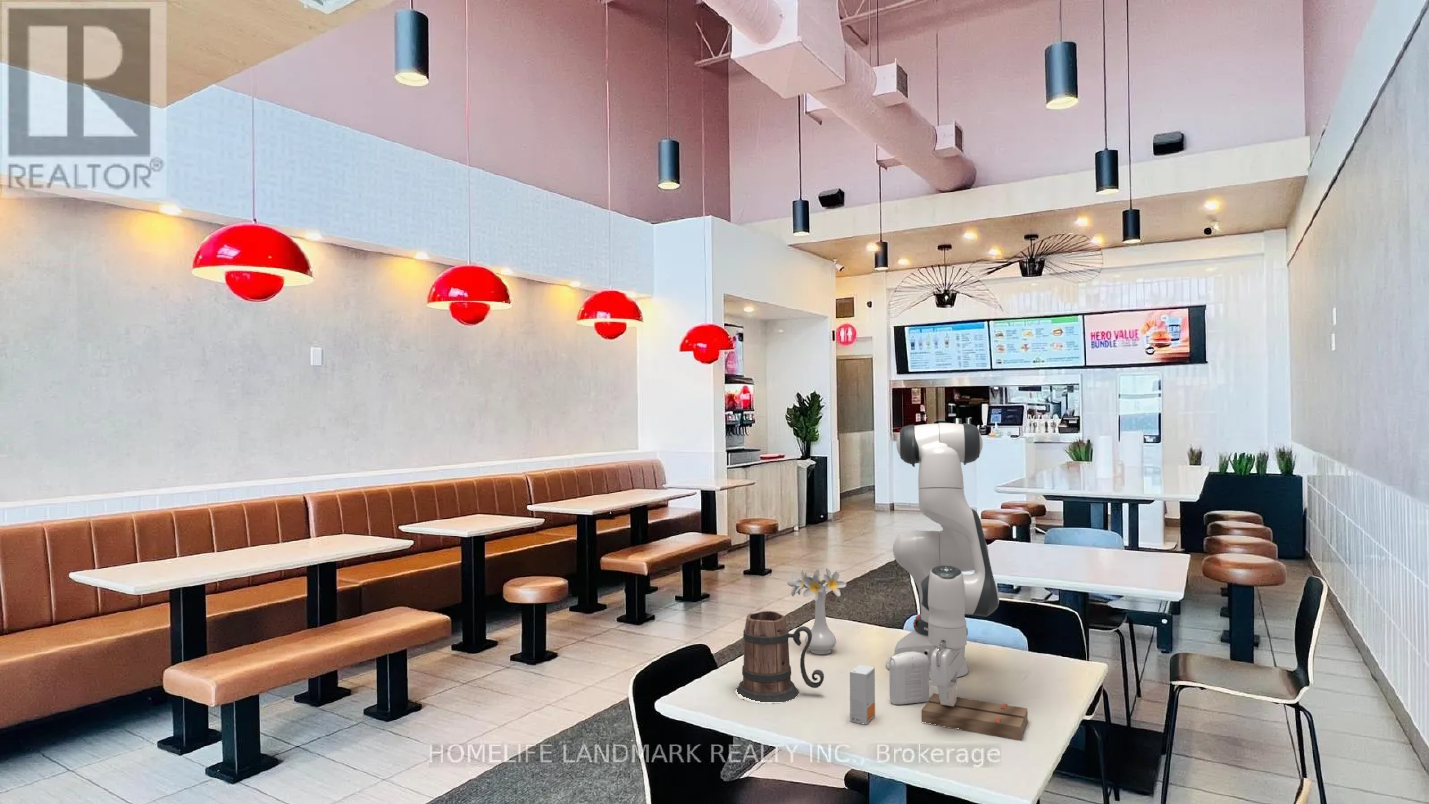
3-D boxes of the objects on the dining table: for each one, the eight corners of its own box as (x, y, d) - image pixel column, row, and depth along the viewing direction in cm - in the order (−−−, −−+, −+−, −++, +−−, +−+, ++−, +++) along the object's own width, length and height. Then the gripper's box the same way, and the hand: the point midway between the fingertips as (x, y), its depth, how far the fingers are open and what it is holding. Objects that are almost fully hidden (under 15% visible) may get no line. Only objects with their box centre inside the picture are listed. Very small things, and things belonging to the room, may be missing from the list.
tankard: (727, 700, 203) (726, 622, 203) (743, 678, 220) (742, 606, 220) (819, 709, 197) (817, 628, 197) (828, 685, 213) (827, 610, 213)
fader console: (921, 722, 188) (921, 709, 188) (933, 705, 198) (933, 692, 198) (1020, 740, 177) (1020, 726, 177) (1027, 721, 188) (1027, 707, 188)
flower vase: (797, 642, 251) (795, 563, 251) (853, 649, 243) (852, 567, 243) (782, 654, 240) (780, 571, 240) (841, 662, 232) (839, 576, 231)
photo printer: (923, 696, 204) (923, 648, 204) (932, 702, 200) (931, 653, 200) (887, 700, 202) (886, 651, 202) (894, 706, 198) (894, 657, 198)
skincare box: (866, 725, 187) (865, 674, 187) (849, 722, 189) (848, 671, 189) (876, 716, 192) (875, 667, 192) (859, 713, 194) (858, 664, 194)
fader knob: (940, 711, 190) (940, 685, 190) (943, 706, 193) (943, 680, 193) (953, 713, 188) (953, 687, 188) (956, 708, 191) (956, 682, 191)
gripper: (951, 649, 180) (952, 710, 180) (969, 626, 198) (970, 682, 198) (923, 645, 183) (924, 706, 183) (943, 623, 201) (944, 678, 201)
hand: (948, 693), depth 190 cm, fingers open, 8 cm apart
